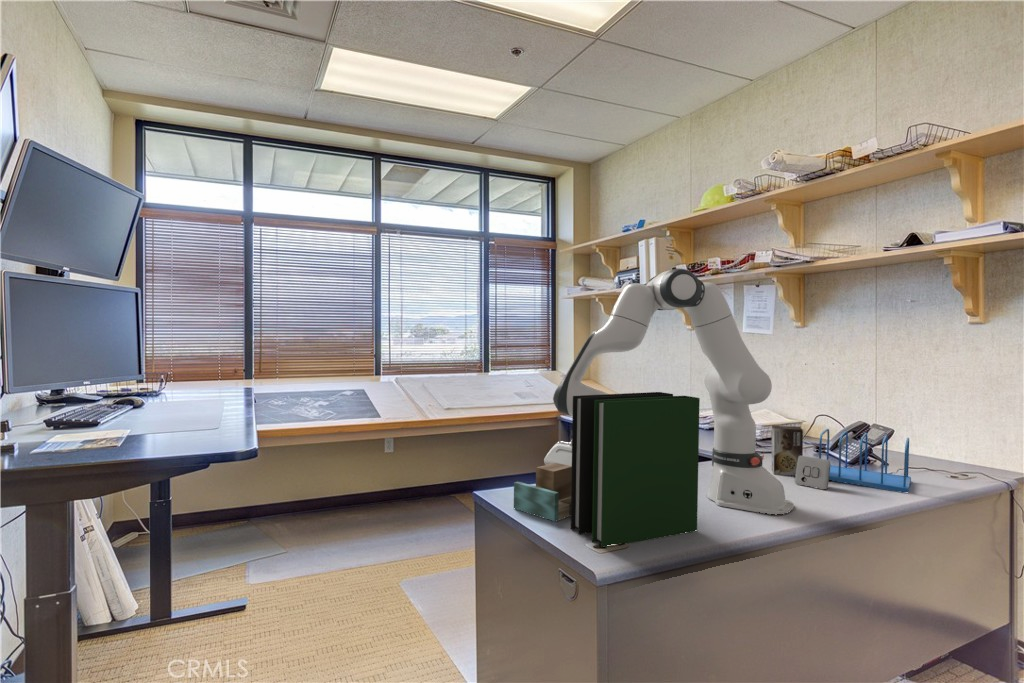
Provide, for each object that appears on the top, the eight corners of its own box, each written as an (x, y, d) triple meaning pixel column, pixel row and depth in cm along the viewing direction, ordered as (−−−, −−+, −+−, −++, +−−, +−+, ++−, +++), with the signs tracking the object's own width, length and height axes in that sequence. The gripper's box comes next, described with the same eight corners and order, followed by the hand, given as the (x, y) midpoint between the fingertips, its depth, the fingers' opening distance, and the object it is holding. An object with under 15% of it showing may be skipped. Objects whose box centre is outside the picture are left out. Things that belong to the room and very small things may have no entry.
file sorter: (815, 479, 180) (816, 433, 180) (824, 469, 194) (825, 427, 194) (908, 494, 165) (909, 443, 165) (911, 482, 178) (912, 435, 178)
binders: (603, 549, 118) (606, 402, 118) (567, 527, 131) (569, 395, 131) (697, 531, 130) (699, 397, 129) (655, 512, 143) (657, 391, 143)
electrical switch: (794, 484, 173) (796, 455, 174) (800, 483, 177) (802, 454, 177) (826, 491, 166) (827, 460, 167) (832, 490, 169) (834, 460, 170)
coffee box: (799, 472, 189) (800, 426, 189) (802, 477, 183) (803, 429, 182) (770, 470, 192) (771, 424, 192) (773, 474, 186) (773, 427, 185)
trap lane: (600, 504, 149) (600, 479, 149) (554, 521, 135) (554, 493, 135) (560, 493, 159) (560, 469, 159) (513, 508, 144) (514, 482, 144)
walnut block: (571, 496, 146) (572, 466, 146) (553, 502, 141) (553, 471, 141) (554, 491, 151) (555, 462, 151) (535, 497, 145) (536, 467, 145)
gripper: (553, 433, 162) (530, 472, 155) (611, 444, 147) (589, 487, 141) (562, 446, 165) (540, 484, 158) (620, 458, 151) (599, 500, 144)
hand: (564, 485), depth 149 cm, fingers closed, pressing on walnut block
